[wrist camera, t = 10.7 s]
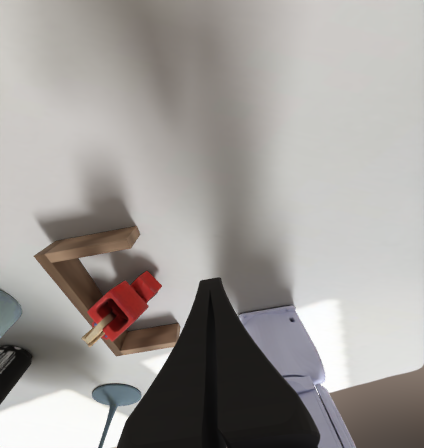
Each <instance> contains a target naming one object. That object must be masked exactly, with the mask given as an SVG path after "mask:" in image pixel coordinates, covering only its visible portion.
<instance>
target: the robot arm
mask: <svg viewBox="0 0 424 448" xmlns="http://www.w3.org/2000/svg"><path fill="white" fill-rule="evenodd" d="M324 381H325V372H324V368H323V364H322V362H321V359H320V356H319V354H318V352H317V350H316V348H315V346H314V344H313V342H312V340H311V338H310V337H309V335H308V333H307V331H306V329H305V328H304V326H303V324H302V322H301V320H300V319H299V317H298V315H297V313H296V311H295V306H293V305H291V306H285V307H279V308H273V309H267V310H261V311H255V312H249V313H243V314H240V315H239V318H238V316H237V314H236V312H235V311H234V309H233V307H232V305H231V303H230V301H229V299H228V297H227V295H226V293H225V290H224V288H223V285H222V281H221V278H219V277H218V278H212V279H207V280H201V281H200V283H199V287H198V291H197V294H196V297H195V300H194V303H193V306H192V309H191V312H190V314H189V316H188V319H187V321H186V324H185V326H184V328H183V330H182V332H181V334H180V336H179V338H178V340H177V342H176V344H175V346H174V348H173V350H172V352H171V353H170V355H169V357H168V359H167V361H166V362H165V364H164V366H163V367H162V369H161V370H160V372H159V374H158V375H157V377H156V378H155V380H154V381H153V383H152V385H151V386H150V388H149V389H148V391H147V392H146V394H145V395H144V396H143V398H142V399H141V401H140V402H139V404H138V405H137V406H136V408H135V409H134V411H133V412H132V413H131V415H130V416H129V418H128V419H127V421H126V423H125V426H124V428H123V431H122V434H121V437H120V440H119V442H118V445H117V448H356V446H355V444H354V442H353V440H352V438H351V435H350V433H349V431H348V429H347V427H346V425H345V423H344V421H343V419H342V418H341V415H340V413H339V412H338V409H337V408H336V406H335V404H334V402H333V400H332V398H331V396H330V394H329V392H328V391H327V389H326V388H324V387H323V386H321V385H320V384H321V383H323V382H324ZM314 385H315V386H316V388H317V391H318V393H319V395H318V393H317V391H316V389H315V387H314ZM319 396H320V397H319ZM320 398H321V400H320ZM321 401H322V402H321ZM322 403H323V404H322ZM323 405H324V406H323ZM324 407H325V408H324ZM339 440H340V441H339ZM340 442H341V443H340ZM341 444H342V446H343V447H342V446H341Z"/></svg>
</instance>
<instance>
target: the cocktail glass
mask: <svg viewBox="0 0 424 448" xmlns="http://www.w3.org/2000/svg"><path fill="white" fill-rule="evenodd" d="M92 397H93V398H94V400H96V401H97V402H99V403H102V404H105V405H110V410H109V414H108V418H107V422H106V425H105V428H104V432H103V435H102V438H101V441H100V444H99V447H98V448H102V446H103V443H104V440H105V437H106V434H107V431H108V428H109V426H110V423H111V420H112V418H113V415H114V413H115V411H116V408H117V407H118V406H125V405H130V404H134V403H136V402H138V401H139V400H140V398H141V393H140V391H139V390H138V389H136V388H134V387H132V386H128V385H123V384H108V385H103V386H100V387H98V388H96V389H95V390H94V391H93V393H92Z"/></svg>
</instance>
